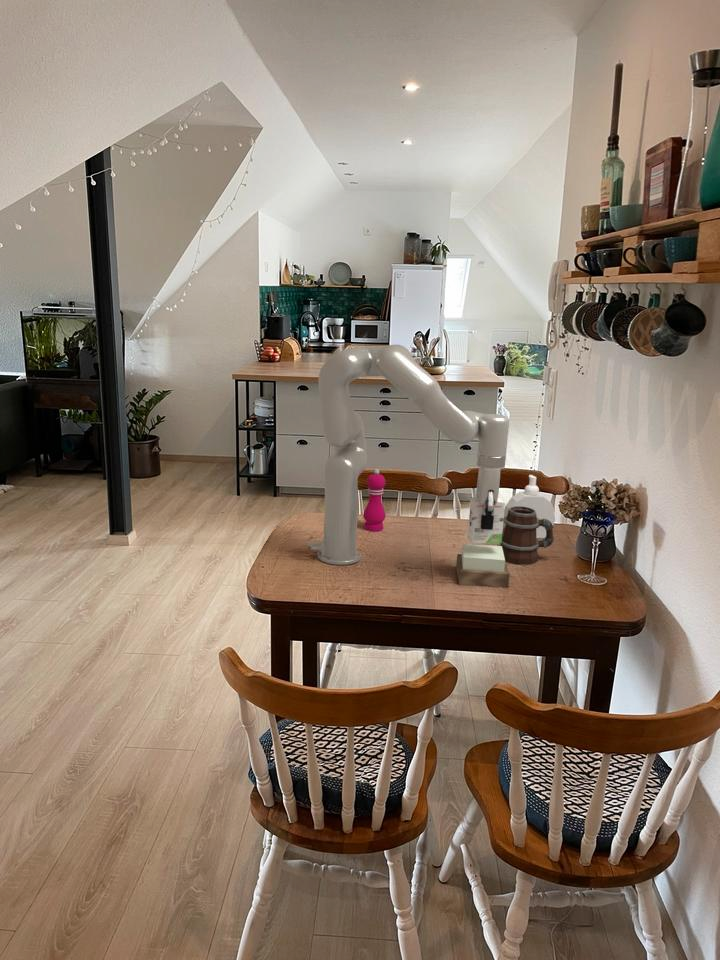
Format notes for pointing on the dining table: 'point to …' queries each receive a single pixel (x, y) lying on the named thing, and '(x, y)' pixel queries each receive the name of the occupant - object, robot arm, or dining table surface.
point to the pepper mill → (374, 503)
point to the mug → (524, 535)
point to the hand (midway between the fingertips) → (485, 524)
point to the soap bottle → (533, 505)
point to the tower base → (481, 576)
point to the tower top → (483, 557)
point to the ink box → (475, 523)
